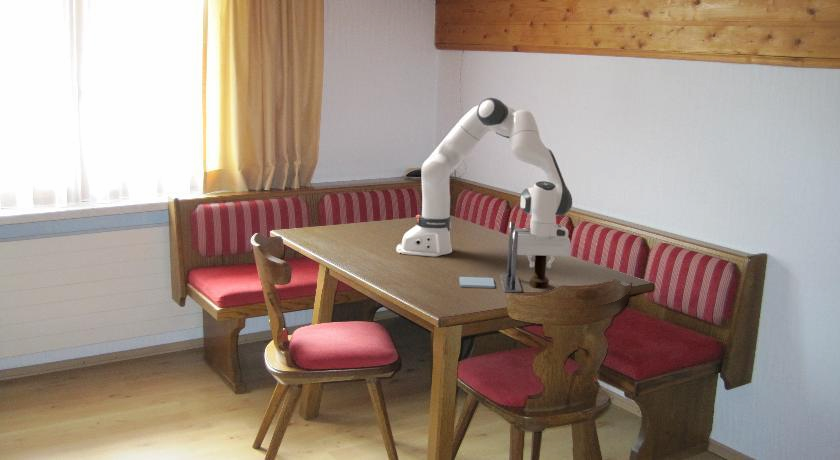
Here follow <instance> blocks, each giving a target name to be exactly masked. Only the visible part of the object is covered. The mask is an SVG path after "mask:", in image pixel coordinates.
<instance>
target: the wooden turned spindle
mask: <svg viewBox="0 0 840 460" xmlns="http://www.w3.org/2000/svg"><path fill="white" fill-rule="evenodd" d="M546 262H547V256H538V255H534V263H535V265H534V275H533V276H532V277H530V280H529V285H530V287H532V288H535V289H546V288H548V287H549V283H550V280H549V278H548V277H547V276H546V274H547V273H546V269H547V267H546V265H547V264H546Z"/></svg>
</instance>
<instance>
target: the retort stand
mask: <svg viewBox="0 0 840 460" xmlns="http://www.w3.org/2000/svg"><path fill="white" fill-rule="evenodd" d="M514 230H515V221H509V231H508V233H509V234H508V251H507V265H506V266H507V267H506V268H507V269H506V274H501V273H500V276H499V277H500V278H499V279H500V281H501V285H502V289H503V292H504V293H507V292H508V293H511V294H513V293H512V292H522V293H523V289H522V287H521V283H520V280H519V277H518V275H517V263H518V261H517V259H518V255H517V246H518V231H517V230H516V231H514ZM513 231H514V233H513ZM512 233H513V238H512ZM512 246H513V251H512ZM508 293H507V294H508Z"/></svg>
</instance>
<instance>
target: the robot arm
mask: <svg viewBox="0 0 840 460" xmlns="http://www.w3.org/2000/svg"><path fill="white" fill-rule="evenodd" d="M491 131H492V132H495V133H496V134H497V135H498V136H502V138H506V139H509V146H510V149H511V152H512V155H513V156H514V157H515V158H516V159H518V160H519V161H521V162H523V163H526V164H530V165H533V166H535V167H538V168H539V169H541V170H542V171H543V172H544V173H545V175H546V177H547V181H545V180H544V181H543V180H541V181H537V182H535V183H534V184H533V186H532V187H528V188H525V189H523V191H522V192H520V194H519V209H520V210H521V211H522V212H523V213H524V214H526V215H531V216H530V220H529V221H530V222H529V223H530V225H529V228H528V227H527V228H526V227H525V228H522V227H521V228H520V227H517V228H516V229H514V231H518V246H517V256H527V257H526V258H527V259H528V261H529V268H534V269H535V261H532V260H531V259H532V257H533V256H535V255H538V256H546V257H550V259H549V261H546V269H551V268H552V264H553V262H554V261H555V258H556V257H570V255H571V254H572V245H571V244H572V243H571V239H570V238H569V230H568V228H567V227H566V226H563V225H560V224H557V218H556V216H560V217H561V216H564V215H566V214H567V213H569V211H571V209H572V206H573V197H572V194H571V191H570V190H569V188H568V187H567V185H566V182H565V180H564V178H563V175H562V172H561V170H560V168H559V164H558V162H557V160H556V156H555V155H554V153H553V151H552V150H551V149H549V148H547V147H546V145H545V144H544V142H543V141H542V139H541V136H540V132H539V127H538V124H537V122H536V120H535V117H534V115H533V114H532V112H530V111H529V110H526V109H525V110H524V109H519V110H516V109H514V108H513V107H511V106H510V105H509V104H506V103H504V102H502V100H500V99H498V98H494V97H488V98H485V99H483V100H482V101H481V102H480V103H479V105H476V106H474V107H472V108H471V109H470V110H469V111H468V112H467V113H465V115H463V116H462V117H461V118H460V119H459V120H458V122H457V123H456V124H455V125H454V127H452V129H451V130H450V131H449V132H448V134H447V135H446V136H445V137H444V139H442V141H441V142H440V143H439V145H438V146H436V148H435V149H434V150H433V152H432V153H430V155H429V156H428V157H427V159H426V160H424V162H423V163H422V165H421V171H420V172H421V173H420V174H421V194H422V196H421V197H422V198H421V199H422V201H421V207H422V208H421V215H420V214H417V215H415V220H416V224H415V226H413V227H412V228H410V229H409V230H407V231H406V232H405V233H404V234H403V237H402V240H401V243H398V244H397V246H396V247H395V250H396V251H395V252H396V253H398V254H400V253H401V255H402V254H403V255H412V256H423V257H424V256H425V257H439V256H442V255H443V256H444V255H448V254H451V253H452V252H453V249H452V244H451V243H452V242H451V238H450V237H451V236H450V231H451V225H452V224H451V221H452V220H451V216H450V212H451V211H450V209H451V192H450V179H451V178H450V177H451V174H453V172H454V171H455V170H456V169H457V167H458V166H459V165H460V164H461V163H462V162H463V161H464V159H466V157H467V156H468V155H469V154H470V153H471V152H472V150H473V149H474V148H475V147H476V145H478V143H479V142H480V141H481V140H482V138H483V137H484V136H485V135H486V134H487V133H488V132H491ZM514 231H513V233H514ZM513 233H512V238H513ZM512 251H513V246H512Z"/></svg>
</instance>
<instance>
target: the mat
mask: <svg viewBox="0 0 840 460" xmlns="http://www.w3.org/2000/svg"><path fill="white" fill-rule="evenodd" d="M458 280H459V288H477V289H478V288H483V289H495V286H496V285H495V281H494V278H493V277H478V276H477V277H475V276H459V278H458Z"/></svg>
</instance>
